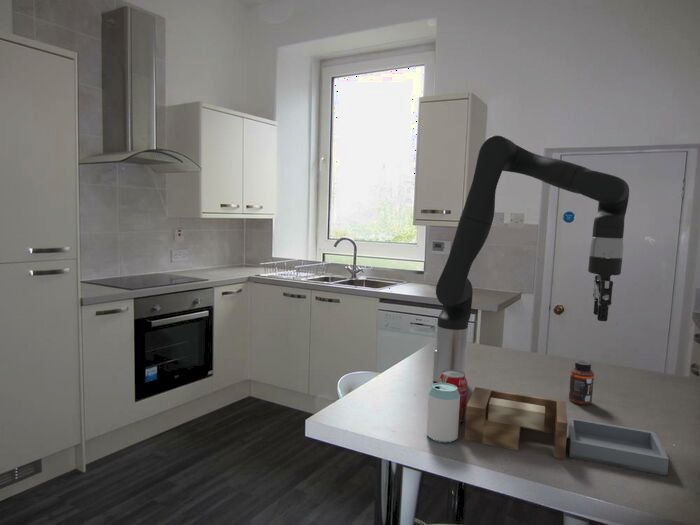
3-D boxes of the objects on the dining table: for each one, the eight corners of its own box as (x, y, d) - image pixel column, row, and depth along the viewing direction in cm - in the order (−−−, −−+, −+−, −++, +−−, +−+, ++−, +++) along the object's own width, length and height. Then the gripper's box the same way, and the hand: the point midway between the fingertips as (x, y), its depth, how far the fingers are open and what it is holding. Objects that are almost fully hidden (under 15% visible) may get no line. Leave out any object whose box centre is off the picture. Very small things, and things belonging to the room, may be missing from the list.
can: (442, 447, 108) (445, 394, 107) (420, 435, 114) (422, 384, 113) (464, 439, 112) (467, 388, 111) (441, 428, 118) (443, 379, 117)
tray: (569, 456, 106) (570, 441, 105) (567, 431, 119) (568, 417, 118) (667, 475, 99) (668, 459, 99) (653, 446, 112) (654, 432, 112)
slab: (487, 420, 114) (488, 403, 113) (490, 413, 118) (491, 397, 117) (543, 430, 109) (544, 413, 109) (543, 423, 113) (545, 406, 113)
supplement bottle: (594, 406, 136) (597, 366, 135) (571, 404, 137) (574, 364, 136) (588, 399, 142) (591, 360, 141) (566, 396, 143) (569, 358, 142)
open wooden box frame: (464, 439, 112) (466, 405, 111) (473, 417, 125) (475, 387, 124) (564, 459, 104) (567, 423, 104) (563, 433, 117) (565, 401, 116)
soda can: (433, 414, 126) (435, 368, 125) (460, 414, 127) (462, 368, 126) (440, 425, 119) (443, 377, 118) (469, 425, 120) (472, 377, 119)
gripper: (586, 252, 134) (581, 311, 135) (592, 256, 120) (586, 321, 122) (617, 254, 131) (612, 314, 133) (627, 258, 118) (620, 324, 119)
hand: (599, 317), depth 127 cm, fingers open, 8 cm apart
